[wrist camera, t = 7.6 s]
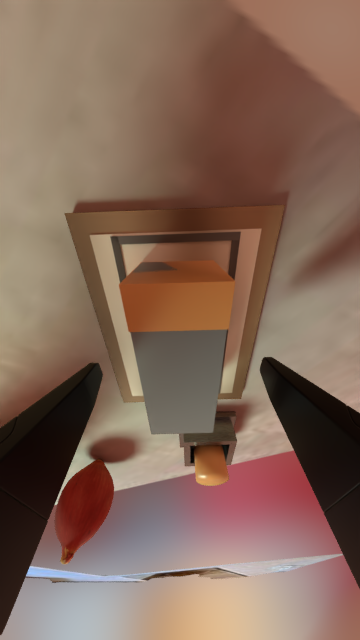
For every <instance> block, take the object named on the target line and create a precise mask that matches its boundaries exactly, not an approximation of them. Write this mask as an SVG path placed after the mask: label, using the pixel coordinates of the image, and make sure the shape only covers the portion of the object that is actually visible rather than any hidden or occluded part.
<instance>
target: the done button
mask: <svg viewBox="0 0 360 640" xmlns="http://www.w3.org/2000/svg"><path fill="white" fill-rule="evenodd" d="M194 459H195V472H196V481H197V482H198V483H199V484H202V485H207V486H208V485H209V486H213V485H220V484H223V483H225V482H226V481H228V480H229V476H228V471H227V466H226V461H225V456H224V451H223V446H222V445H196V446H195V447H194Z"/></svg>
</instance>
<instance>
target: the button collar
mask: <svg viewBox="0 0 360 640" xmlns="http://www.w3.org/2000/svg"><path fill="white" fill-rule="evenodd" d="M235 421H236V413H235V412H216V414H215V421H214V429H213V433H182V434H179V438H180V447H184V458H185V466H195V459H194V447H195V446H196V445H222V446H223V451H224V456H225V461H226V465H231V462H232V458H233V455H234V451H235V447H236V443H237V439H236V435H235V432H234V425H235Z"/></svg>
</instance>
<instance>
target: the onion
mask: <svg viewBox="0 0 360 640" xmlns="http://www.w3.org/2000/svg"><path fill="white" fill-rule="evenodd" d="M113 495H114V485H113V480H112V477H111V475H110V473H109V471H108V470H107V468H106V466H105V464H104V462H103V461H102V460H100V459H98V460H95V461H94V462H92V463H91V464H89V465H88V466H86V467H85V468H83V469H82V470H80V471H79V472H78V473H76V474H75V475H74V476H73V477H72V478H71V479H70V480H69V481H68V483H67V484H66V486H65V487H64V489H63V491H62V493H61V496H60V498H59V501H58V504H57V509H56V512H55V530H56V534H57V537H58V539H59V541H60V543H61V546H62V557H61V560H60V561H61V562H62V564H67V563H69V562H70V560H71V559H72V558H73V555H74V553H75V552H76V551H77V550H78V548H80V546H82V545H83V544H85V543H86V542H87V541H88V540H89V539H90V538H92V537H93V536H94V534H95V533H96V532H97V531H98V529H99V528H100V526H101V525H102V523H103V522H104V520H105V518H106V516H107V515H108V512H109V510H110V507H111V504H112V500H113Z"/></svg>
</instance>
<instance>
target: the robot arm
mask: <svg viewBox="0 0 360 640" xmlns="http://www.w3.org/2000/svg"><path fill="white" fill-rule="evenodd" d="M260 373H261V376H262V378H263V381H264V384H265V387H266V390H267V393H268V395H269V398H270V400H271V403H272V405H273V407H274V409H275V411H276V413H277V415H278V418H279V420H280V422H281V424H282V426H283V428H284V430H285V432H286V434H287V436H288V439H289V441H290V443H291V445H292V447H293V449H294V451H295V453H296V455H297V457H298V459H299V461H300V464H301V466H302V468H303V470H304V472H305V474H306V476H307V479H308V481H309V483H310V485H311V487H312V489H313V491H314V493H315V495H316V497H317V500H318V502H319V504H320V506H321V508H322V510H323V512H324V515H325V517H326V519H327V521H328V523H329V525H330V527H331V529H332V531H333V534H334V536H335V538H336V540H337V542H338V544H339V546H340V548H341V551H342V552H343V555H344V557H345V559H346V561H347V563H348V565H349V567H350V570H351V572H352V574H353V576H354V578H355V580H356V582H357V584H358V586H359V588H360V413H359V412H357V411H356V410H354V409H352V408H351V407H349V406H346V404H344V403H343V402H341V401H340V400H338V399H337V398H335V397H333V396H332V395H330V394H329V393H327V392H326V391H324V390H323V389H321V388H319V387H318V386H316V385H315V384H313V383H312V382H310V381H308V380H307V379H305V378H304V377H302V376H301V375H299V374H297V373H296V372H294V371H293V370H291V369H290V368H288V367H286V366H285V365H283V364H282V363H280V362H279V361H277V360H275V359H274V358H272V357H264V358H263V359H262V363H261V366H260ZM102 377H103V374H102V371H101V368H100V365H99V364H98V363H90V364H88V365H87V366H85V367H84V368H83V369H81V370H80V371H79V372H77V373H76V374H74V375H73V376H72V377H70V378H69V379H67V380H66V381H65V382H63V383H62V384H61V385H59V386H58V387H56V388H55V389H54V390H52V391H51V392H50V393H48V394H47V395H45V396H44V397H43V398H41V399H40V400H39V401H37V402H36V403H34V404H33V405H32V406H30V407H29V408H27V409H26V410H25V411H23V412H22V413H21V414H19V415H18V416H16V417H15V418H14V419H12V420H11V421H9V422H8V423H7V424H5V425H4V426H2V427H1V428H0V635H1V634H2V632H3V630H4V628H5V626H6V624H7V621H8V619H9V616H10V614H11V611H12V609H13V607H14V604H15V602H16V599H17V597H18V594H19V592H20V589H21V587H22V584H23V582H24V579H25V577H26V574H27V572H28V569H29V567H30V564H31V562H32V559H33V557H34V554H35V552H36V549H37V547H38V544H39V542H40V539H41V537H42V534H43V532H44V529H45V527H46V525H47V522H48V521H47V520H48V519H49V517H50V514H51V512H52V509H53V507H54V504H55V502H56V499H57V497H58V494H59V492H60V489H61V487H62V484H63V482H64V479H65V477H66V475H67V472H68V470H69V467H70V465H71V462H72V460H73V457H74V455H75V452H76V450H77V447H78V445H79V442H80V440H81V437H82V435H83V432H84V430H85V427H86V425H87V422H88V420H89V417H90V415H91V412H92V410H93V407H94V405H95V401H96V398H97V395H98V391H99V388H100V384H101V381H102Z"/></svg>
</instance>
